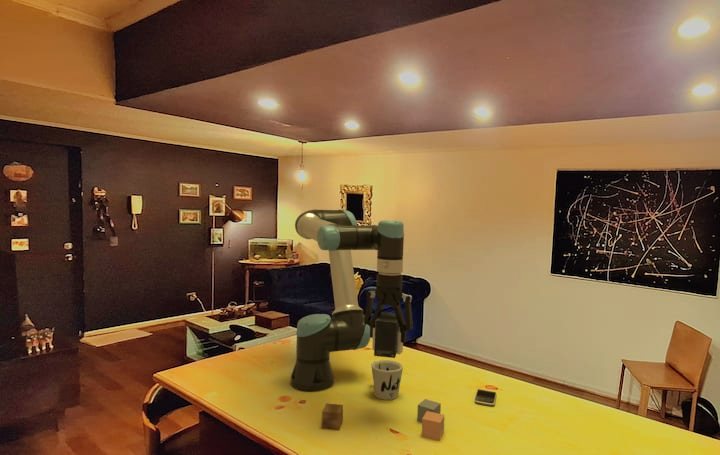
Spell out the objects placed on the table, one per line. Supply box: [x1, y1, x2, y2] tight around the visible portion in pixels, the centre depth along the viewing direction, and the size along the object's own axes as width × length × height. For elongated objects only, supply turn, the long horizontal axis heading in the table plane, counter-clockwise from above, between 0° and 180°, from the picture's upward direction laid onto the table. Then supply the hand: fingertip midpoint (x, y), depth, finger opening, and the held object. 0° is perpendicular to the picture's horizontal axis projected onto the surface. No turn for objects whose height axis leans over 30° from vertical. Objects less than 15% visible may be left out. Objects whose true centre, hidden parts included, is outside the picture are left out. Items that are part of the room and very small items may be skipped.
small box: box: [373, 311, 400, 359], centre depth 126 cm, size 11×6×10 cm, turn 168°
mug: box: [371, 359, 404, 401], centre depth 144 cm, size 10×15×10 cm
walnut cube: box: [321, 402, 344, 431], centre depth 121 cm, size 5×5×5 cm
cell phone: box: [474, 388, 497, 408], centre depth 141 cm, size 6×11×1 cm, turn 159°
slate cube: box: [416, 398, 442, 424], centre depth 125 cm, size 5×5×5 cm
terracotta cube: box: [421, 411, 445, 441], centre depth 118 cm, size 5×5×5 cm
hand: (387, 350), depth 126 cm, fingers closed on small box, 7 cm apart
